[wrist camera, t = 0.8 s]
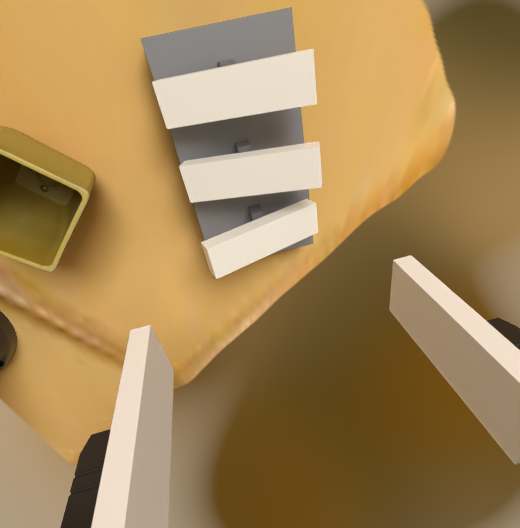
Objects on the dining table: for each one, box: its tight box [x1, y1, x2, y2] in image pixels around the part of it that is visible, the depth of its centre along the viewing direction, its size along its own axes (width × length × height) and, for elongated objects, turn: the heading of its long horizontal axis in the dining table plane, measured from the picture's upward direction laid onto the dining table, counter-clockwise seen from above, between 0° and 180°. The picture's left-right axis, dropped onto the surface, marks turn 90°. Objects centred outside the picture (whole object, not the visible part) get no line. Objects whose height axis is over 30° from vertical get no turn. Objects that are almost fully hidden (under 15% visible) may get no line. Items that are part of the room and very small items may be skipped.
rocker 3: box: [201, 199, 318, 279], centre depth 32 cm, size 12×3×2 cm, turn 100°
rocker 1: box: [152, 48, 317, 129], centre depth 24 cm, size 12×3×2 cm, turn 100°
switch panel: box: [141, 7, 313, 255], centre depth 32 cm, size 12×22×6 cm, turn 10°
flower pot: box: [0, 126, 95, 272], centre depth 28 cm, size 9×9×9 cm
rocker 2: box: [179, 141, 322, 203], centre depth 28 cm, size 12×3×2 cm, turn 100°
